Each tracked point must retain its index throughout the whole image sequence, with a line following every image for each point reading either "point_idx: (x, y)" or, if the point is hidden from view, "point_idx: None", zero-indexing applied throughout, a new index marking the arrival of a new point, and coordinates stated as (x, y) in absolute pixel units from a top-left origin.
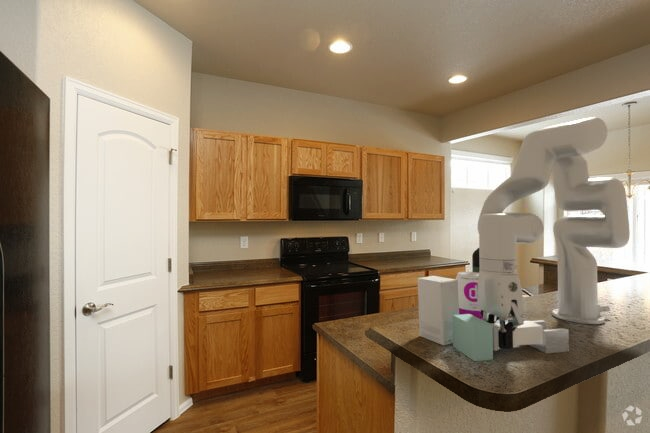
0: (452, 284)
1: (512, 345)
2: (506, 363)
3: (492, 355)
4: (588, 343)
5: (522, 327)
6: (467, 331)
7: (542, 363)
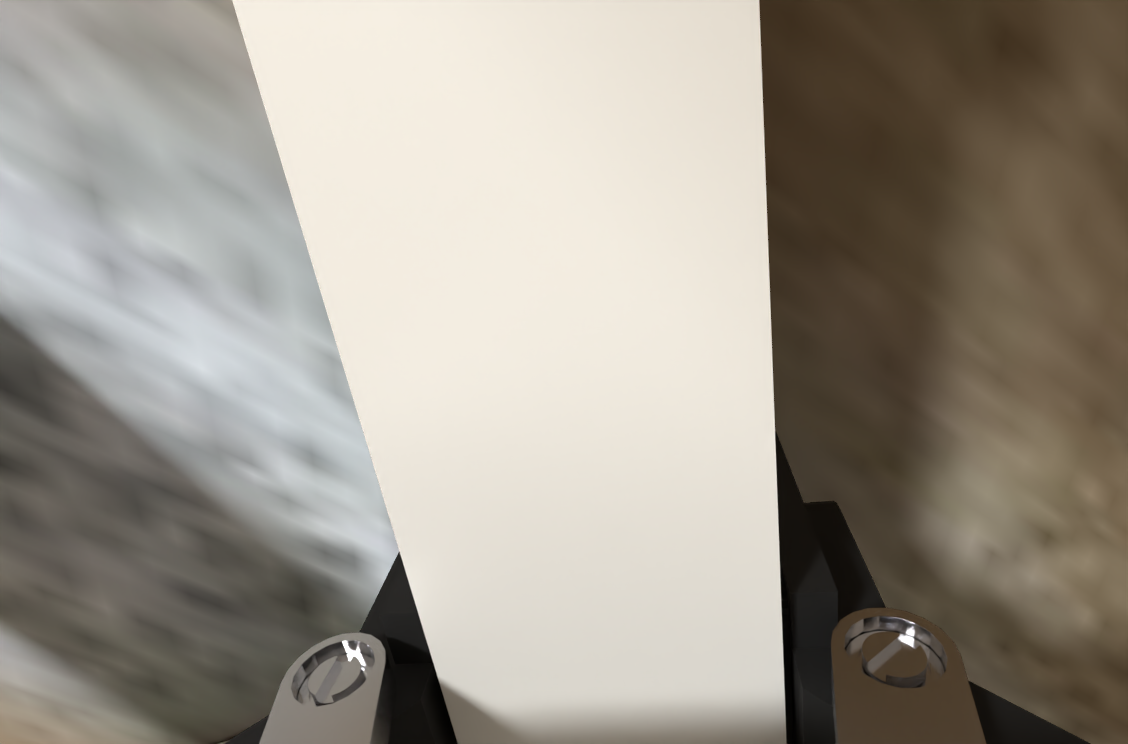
0: None
1: (779, 447)
2: (944, 572)
3: None
4: None
5: (763, 339)
6: None
7: (1072, 183)
